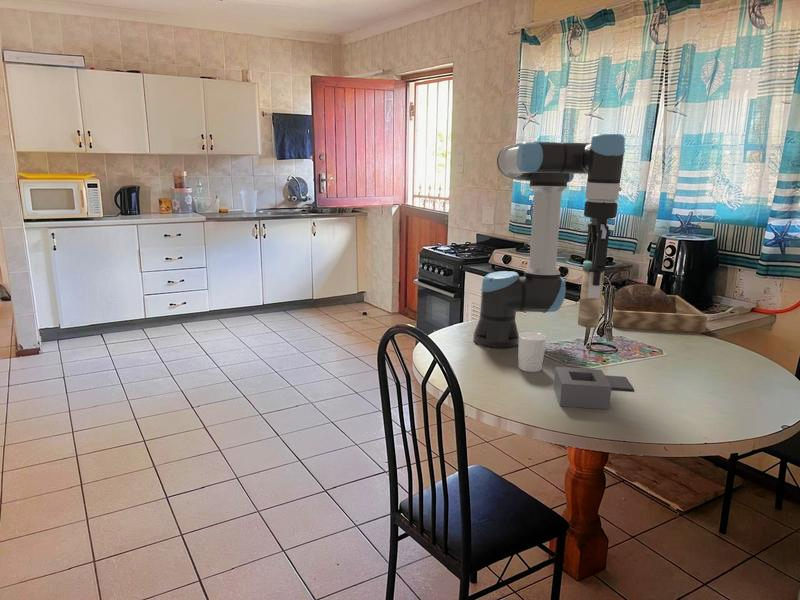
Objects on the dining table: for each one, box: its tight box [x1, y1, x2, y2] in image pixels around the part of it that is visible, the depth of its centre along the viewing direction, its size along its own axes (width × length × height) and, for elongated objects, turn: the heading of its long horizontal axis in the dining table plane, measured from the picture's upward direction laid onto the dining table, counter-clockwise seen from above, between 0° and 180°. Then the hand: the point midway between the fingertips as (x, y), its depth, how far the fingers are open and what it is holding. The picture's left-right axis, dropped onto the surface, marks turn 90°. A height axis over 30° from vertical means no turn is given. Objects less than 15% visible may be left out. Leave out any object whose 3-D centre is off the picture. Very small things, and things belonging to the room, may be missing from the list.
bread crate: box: [600, 291, 708, 333], centre depth 231 cm, size 33×32×6 cm
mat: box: [604, 374, 635, 392], centre depth 164 cm, size 9×9×1 cm
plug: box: [577, 261, 606, 329], centre depth 147 cm, size 5×5×16 cm
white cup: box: [517, 331, 547, 373], centre depth 173 cm, size 8×8×10 cm
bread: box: [614, 283, 677, 314], centre depth 232 cm, size 26×27×13 cm
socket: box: [553, 366, 612, 410], centre depth 153 cm, size 12×12×6 cm
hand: (591, 294), depth 147 cm, fingers closed on plug, 5 cm apart
